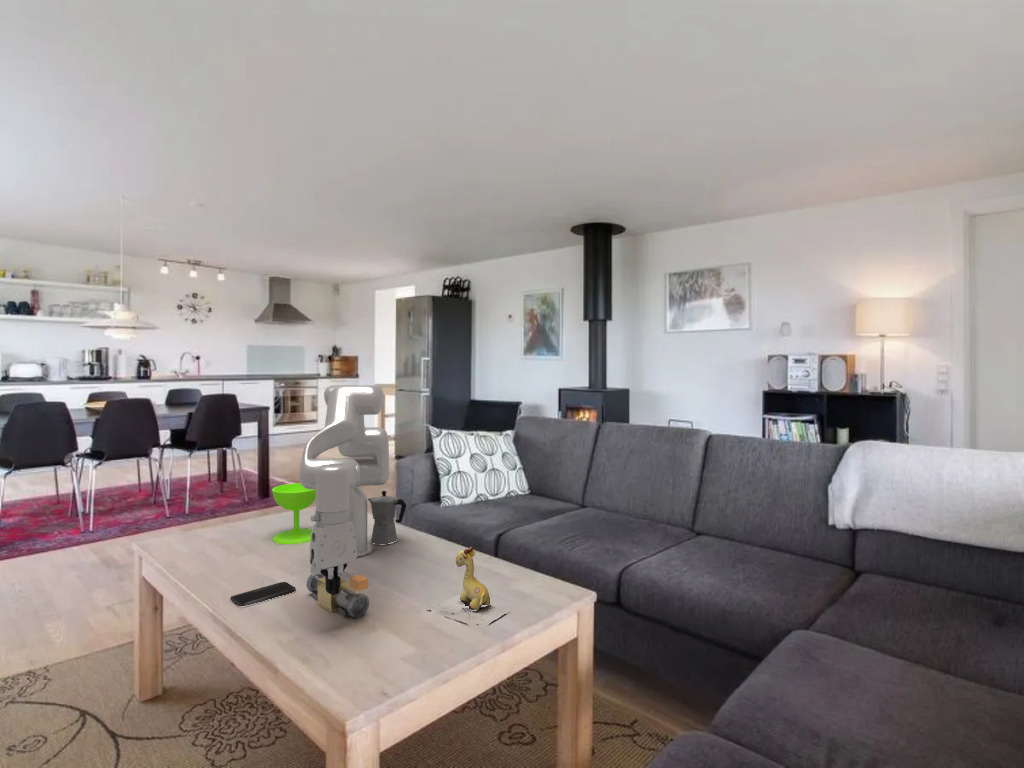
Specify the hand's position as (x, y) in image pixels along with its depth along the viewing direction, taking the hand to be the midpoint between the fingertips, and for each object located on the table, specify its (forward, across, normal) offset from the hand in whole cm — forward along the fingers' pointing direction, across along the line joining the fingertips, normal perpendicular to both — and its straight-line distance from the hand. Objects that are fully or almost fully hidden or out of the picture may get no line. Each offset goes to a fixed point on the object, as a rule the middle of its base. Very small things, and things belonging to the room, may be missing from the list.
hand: (332, 592), depth 134 cm
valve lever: (+1, +7, +5) cm, 9 cm away
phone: (+9, -4, +30) cm, 31 cm away
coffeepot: (+8, +45, +44) cm, 64 cm away
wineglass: (+8, +25, +71) cm, 76 cm away
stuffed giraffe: (+9, +30, -17) cm, 35 cm away
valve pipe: (+8, +7, +10) cm, 15 cm away
